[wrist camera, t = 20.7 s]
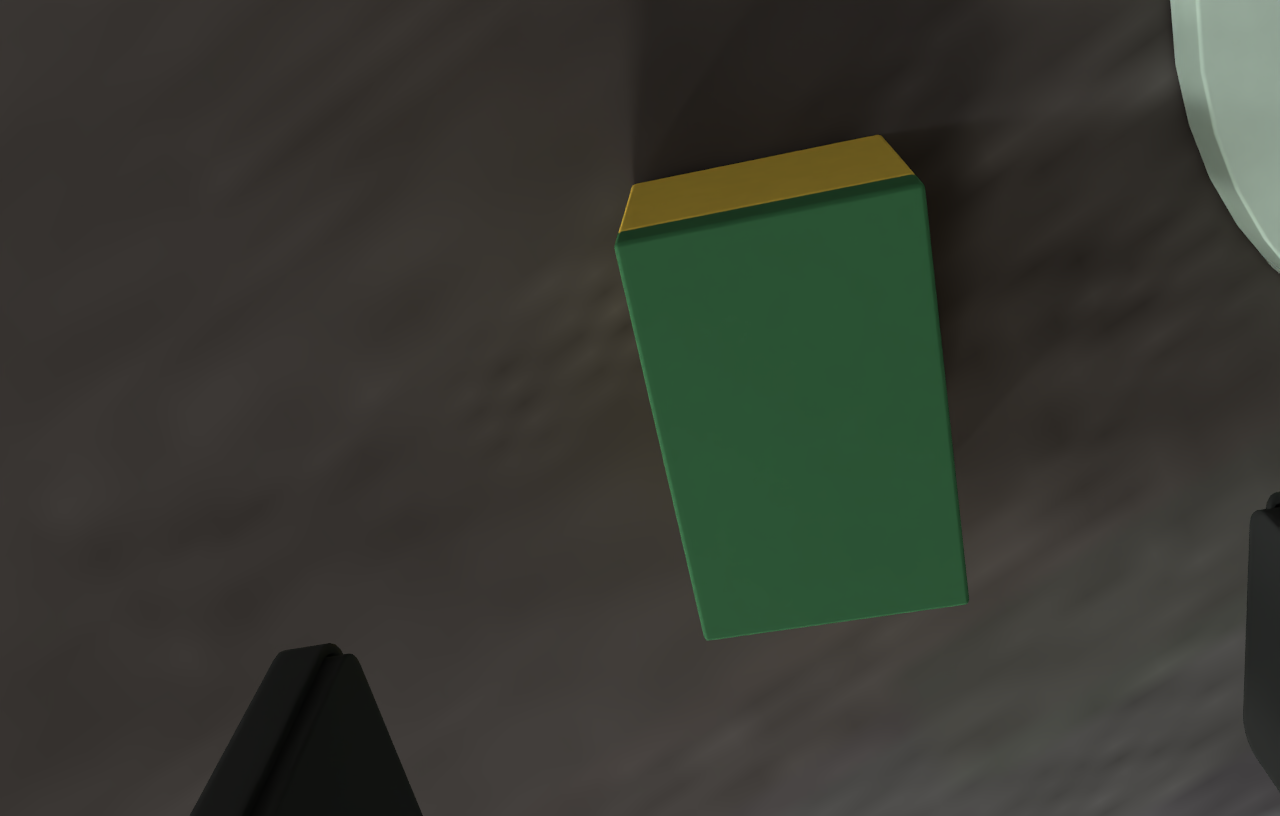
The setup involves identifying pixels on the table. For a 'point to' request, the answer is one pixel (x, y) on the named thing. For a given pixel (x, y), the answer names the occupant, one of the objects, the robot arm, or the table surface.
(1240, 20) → the plate
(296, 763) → the robot arm
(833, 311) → the sponge
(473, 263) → the table surface
